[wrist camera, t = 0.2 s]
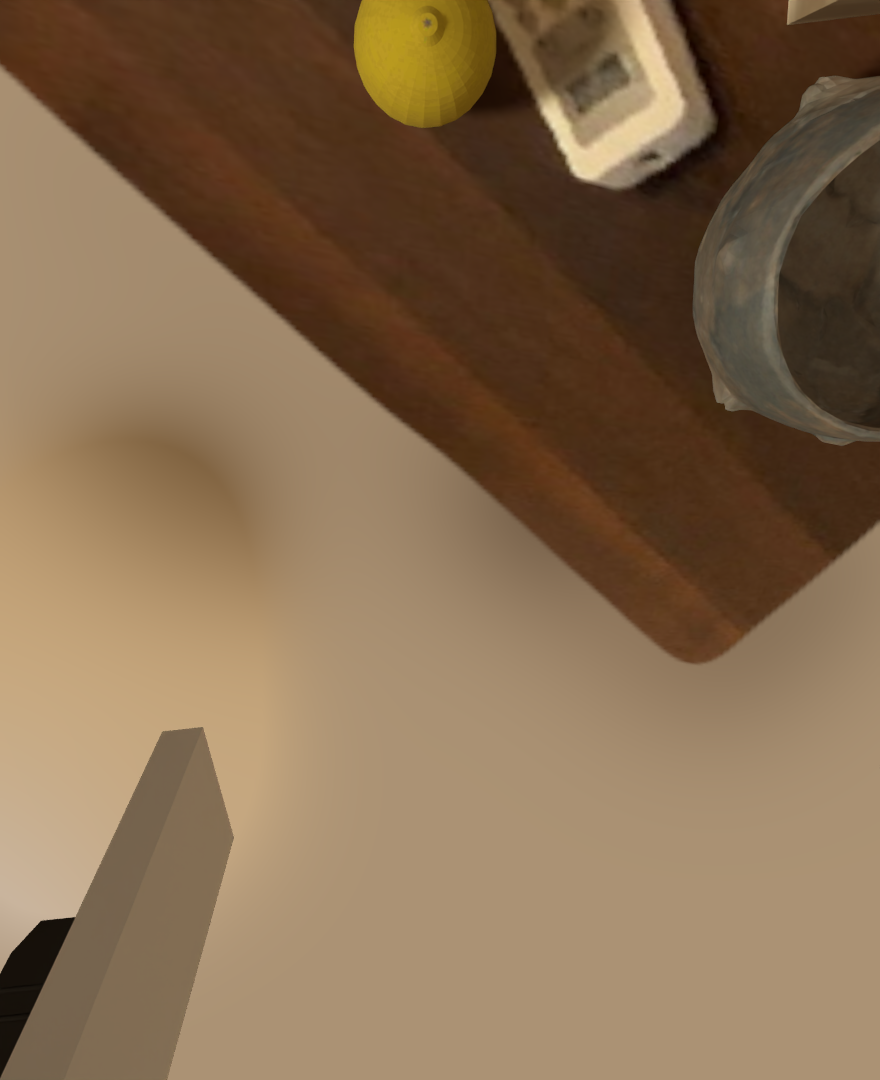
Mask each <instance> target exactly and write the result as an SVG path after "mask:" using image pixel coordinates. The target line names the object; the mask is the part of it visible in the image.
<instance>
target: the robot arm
mask: <svg viewBox="0 0 880 1080" xmlns="http://www.w3.org/2000/svg"><path fill="white" fill-rule="evenodd" d="M233 839H234V837H233V833H232V829H231V826H230V822H229V818H228V815H227V811H226V808H225V805H224V801H223V797H222V794H221V790H220V786H219V783H218V780H217V776H216V773H215V769H214V765H213V762H212V758H211V755H210V751H209V747H208V744H207V740H206V737H205V733H204V730H203V727H201V728H192V729H182V730H173V731H163V732H162V734H161V736H160V738H159V740H158V742H157V744H156V746H155V749H154V751H153V753H152V755H151V757H150V759H149V761H148V763H147V766H146V768H145V770H144V772H143V774H142V776H141V778H140V781H139V783H138V785H137V787H136V789H135V791H134V793H133V796H132V798H131V800H130V802H129V804H128V806H127V808H126V811H125V813H124V815H123V817H122V819H121V821H120V823H119V826H118V828H117V830H116V832H115V834H114V836H113V838H112V840H111V843H110V845H109V847H108V849H107V851H106V853H105V855H104V857H103V860H102V862H101V864H100V866H99V868H98V870H97V872H96V875H95V877H94V879H93V881H92V883H91V885H90V888H89V890H88V892H87V894H86V896H85V898H84V900H83V902H82V904H81V907H80V909H79V911H78V913H77V915H76V917H73V918H64V919H54V920H46V921H45V920H44V921H40V923H39V924H38V925H37V926H36V927H35V928H34V929H33V930H32V931H31V932H30V933H29V934H28V936H27V937H26V938H25V939H24V940H23V941H22V942H21V943H20V944H19V945H18V946H17V947H16V948H15V950H14V951H13V952H12V953H11V954H10V956H9V958H8V960H7V962H6V964H5V966H4V968H3V969H2V971H1V973H0V1080H167V1078H168V1074H169V1070H170V1066H171V1063H172V1059H173V1056H174V1052H175V1049H176V1045H177V1041H178V1038H179V1034H180V1030H181V1027H182V1023H183V1020H184V1016H185V1012H186V1009H187V1005H188V1001H189V998H190V994H191V991H192V987H193V983H194V980H195V976H196V973H197V969H198V965H199V962H200V958H201V954H202V951H203V947H204V943H205V940H206V936H207V933H208V929H209V925H210V922H211V918H212V914H213V911H214V907H215V904H216V900H217V896H218V893H219V889H220V886H221V882H222V878H223V875H224V871H225V868H226V864H227V860H228V857H229V853H230V849H231V846H232V842H233Z"/></svg>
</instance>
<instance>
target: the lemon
mask: <svg viewBox="0 0 880 1080" xmlns="http://www.w3.org/2000/svg"><path fill="white" fill-rule="evenodd" d="M354 51H355V57H356V63H357V69H358V71H359V74H360V76H361V79H362V81H363V84H364V86H365V89H366V90H367V91H368V93H369V94H370V96H371V97H372V99H373V100H374V102H375V103H376V104H377V105H378V106H379V107H380V108H381V109H382V110H383V111H384V112H386V113H387V114H388V115H389V116H390V117H392V118H394V119H396V120H398V121H400V122H402V123H404V124H406V125H410V126H415V127H420V128H427V127H438V126H442V125H444V124H447V123H450V122H452V121H455V120H456V119H458V118H459V117H460V116H462V115H463V114H464V113H466V112H467V111H468V110H470V109H471V108H472V106H473V105H474V104H475V103H476V101H477V100H478V99H479V98H480V96H481V95H482V94H483V92H484V90H485V88H486V85H487V83H488V81H489V79H490V77H491V74H492V70H493V65H494V61H495V57H496V29H495V24H494V19H493V14H492V10H491V8H490V6H489V3H488V1H487V0H362V2H361V5H360V8H359V12H358V16H357V19H356V23H355V33H354Z"/></svg>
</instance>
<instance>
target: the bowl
mask: <svg viewBox="0 0 880 1080" xmlns="http://www.w3.org/2000/svg"><path fill="white" fill-rule="evenodd" d="M693 317H694V323H695V328H696V332H697V336H698V339H699V341H700V344H701V346H702V349H703V351H704V354H705V357H706V359H707V362H708V364H709V367H710V370H711V372H712V377H713V391H714V394H715V397H716V401H717V403H724V404H725V409H726V410H730V411H736V410H753V411H755V412H757V413H759V414H761V415H763V416H765V417H768V418H770V419H772V420H775V421H777V422H780V423H782V424H785V425H787V426H790V427H793V428H796V429H799V430H802V431H805V432H808V433H812V434H814V435H815V436H816V437H817V438H819V439H820V440H821V441H822V442H825V443H830V444H835V445H841V446H843V445H846V444H849V443H852V442H854V441H880V76H875V77H868V78H861V79H851V78H845V77H840V76H830V77H820V78H819V79H818V81H817V82H816V83H815V84H814V85H812V86H809V88H808V89H807V90H806V92H805V93H804V94H803V95H802V99H801V104H800V109H799V111H798V113H797V114H796V116H795V118H794V119H792V120H791V121H790V122H789V123H788V124H786V125H785V126H784V127H783V128H782V129H780V130H779V131H778V132H777V133H776V134H775V135H774V136H773V137H772V138H771V139H770V140H769V141H768V142H767V143H766V144H765V145H764V146H763V148H762V149H761V150H760V152H759V153H758V154H757V156H756V157H755V158H754V160H753V161H752V162H751V164H750V165H749V166H748V167H747V169H746V170H745V171H744V172H743V173H742V174H741V176H740V177H739V178H738V179H737V180H736V182H735V183H734V184H733V185H732V186H731V188H730V189H729V191H728V192H727V193H726V195H725V196H724V197H723V199H722V200H721V202H720V204H719V206H718V208H717V210H716V212H715V214H714V216H713V218H712V219H711V221H710V223H709V226H708V228H707V230H706V232H705V235H704V237H703V240H702V242H701V244H700V247H699V250H698V254H697V257H696V261H695V274H694V292H693Z"/></svg>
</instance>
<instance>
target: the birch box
mask: <svg viewBox="0 0 880 1080" xmlns="http://www.w3.org/2000/svg"><path fill="white" fill-rule="evenodd" d="M874 14H880V0H789V4H788V20H787V25H791V24H799V23H808V22H816V21H824V20H833V19H841V18H849V17H858V16H866V15H874Z"/></svg>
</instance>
